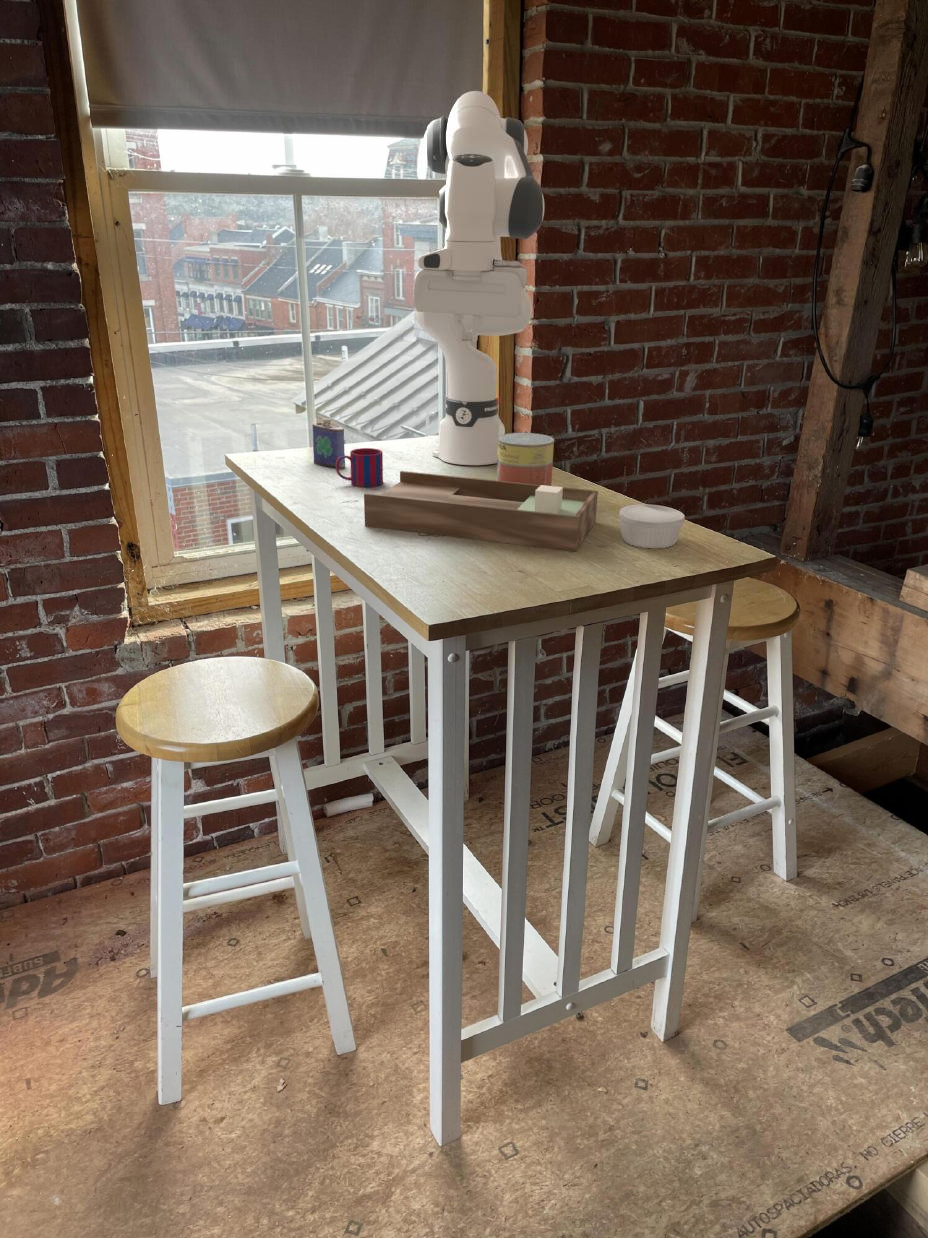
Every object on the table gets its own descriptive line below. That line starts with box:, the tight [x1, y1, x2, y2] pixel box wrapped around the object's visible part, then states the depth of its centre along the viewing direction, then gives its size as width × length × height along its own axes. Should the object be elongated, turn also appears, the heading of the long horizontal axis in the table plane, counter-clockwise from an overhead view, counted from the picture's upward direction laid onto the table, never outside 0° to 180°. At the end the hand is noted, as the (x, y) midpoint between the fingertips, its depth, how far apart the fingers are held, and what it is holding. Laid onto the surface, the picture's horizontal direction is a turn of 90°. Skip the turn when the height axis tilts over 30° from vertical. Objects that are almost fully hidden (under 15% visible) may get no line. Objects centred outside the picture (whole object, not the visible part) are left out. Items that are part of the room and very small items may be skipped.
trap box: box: [363, 470, 599, 553], centre depth 166 cm, size 18×39×6 cm, turn 72°
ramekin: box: [618, 503, 686, 549], centre depth 159 cm, size 11×11×5 cm
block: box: [534, 485, 563, 514], centre depth 161 cm, size 4×4×4 cm
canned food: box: [496, 432, 555, 486], centre depth 182 cm, size 11×11×12 cm
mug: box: [335, 447, 384, 488], centre depth 190 cm, size 7×10×7 cm
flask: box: [312, 417, 346, 470], centre depth 204 cm, size 9×3×11 cm, turn 52°
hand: (468, 340), depth 164 cm, fingers closed
